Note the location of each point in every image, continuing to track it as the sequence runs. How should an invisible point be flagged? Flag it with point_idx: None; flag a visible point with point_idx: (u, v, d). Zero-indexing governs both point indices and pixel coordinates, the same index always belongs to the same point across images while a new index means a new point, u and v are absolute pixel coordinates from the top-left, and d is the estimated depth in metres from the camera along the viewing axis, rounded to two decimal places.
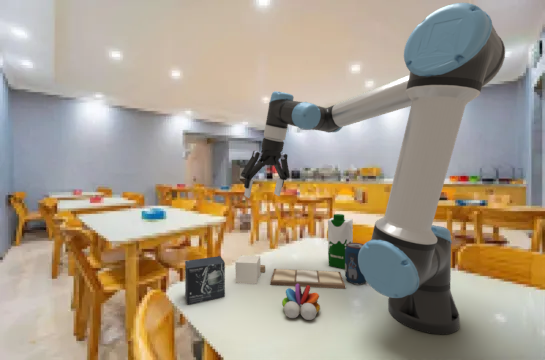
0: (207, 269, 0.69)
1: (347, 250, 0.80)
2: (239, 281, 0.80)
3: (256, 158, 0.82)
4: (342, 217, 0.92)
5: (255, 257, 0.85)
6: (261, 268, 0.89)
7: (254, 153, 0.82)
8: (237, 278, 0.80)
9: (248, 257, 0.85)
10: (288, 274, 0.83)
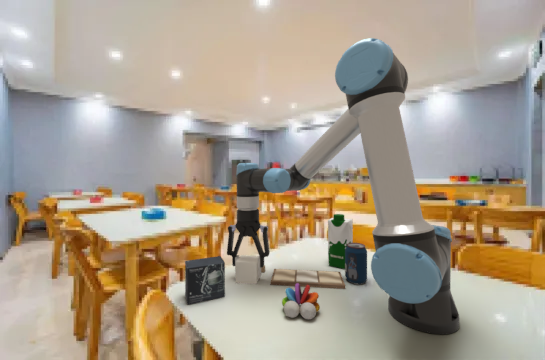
0: (207, 269, 0.69)
1: (347, 250, 0.80)
2: (239, 281, 0.80)
3: (230, 232, 0.82)
4: (342, 217, 0.92)
5: (255, 257, 0.85)
6: (261, 268, 0.89)
7: None
8: (237, 278, 0.80)
9: (248, 257, 0.85)
10: (288, 274, 0.83)
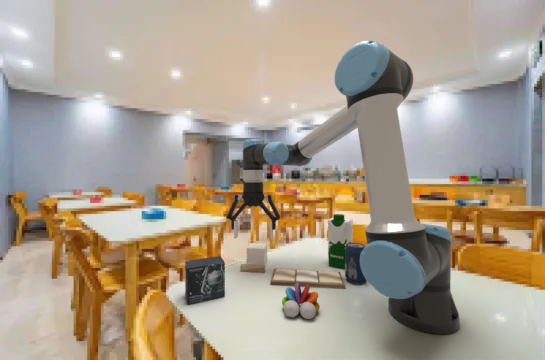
0: (207, 269, 0.69)
1: (347, 250, 0.80)
2: (250, 247, 0.96)
3: (235, 200, 0.91)
4: (342, 217, 0.92)
5: None
6: (261, 268, 0.89)
7: None
8: (249, 247, 0.97)
9: None
10: (288, 274, 0.83)
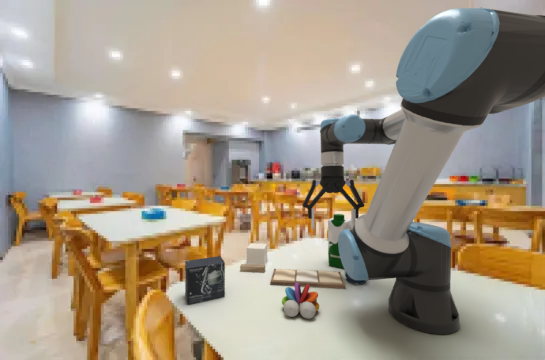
0: (207, 269, 0.69)
1: None
2: (250, 247, 0.96)
3: (313, 186, 0.82)
4: (342, 217, 0.92)
5: None
6: (261, 268, 0.89)
7: (312, 182, 0.83)
8: (249, 247, 0.97)
9: None
10: (288, 274, 0.83)
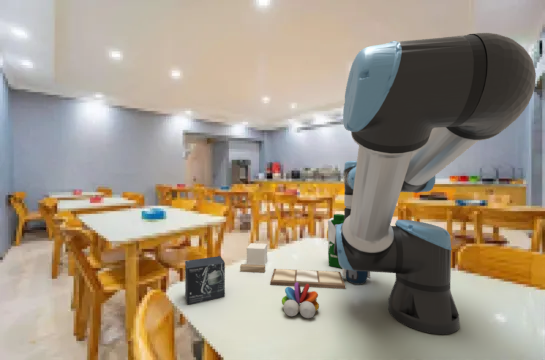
0: (207, 269, 0.69)
1: None
2: (250, 247, 0.96)
3: None
4: (342, 217, 0.92)
5: None
6: (261, 268, 0.89)
7: (335, 227, 0.82)
8: (249, 247, 0.97)
9: None
10: (288, 274, 0.83)
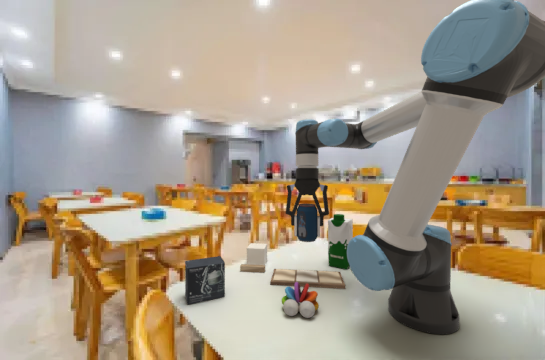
0: (207, 269, 0.69)
1: (298, 209, 0.81)
2: (250, 247, 0.96)
3: (289, 191, 0.82)
4: (342, 217, 0.92)
5: None
6: (261, 268, 0.89)
7: None
8: (249, 247, 0.97)
9: None
10: (288, 274, 0.83)
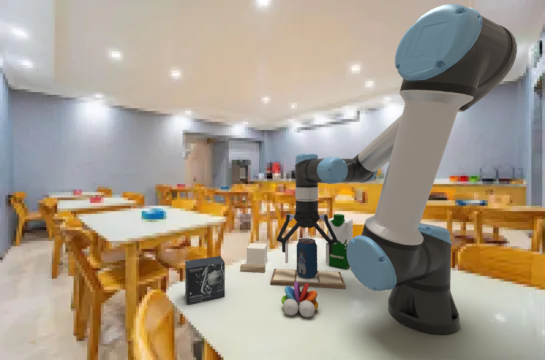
0: (207, 269, 0.69)
1: (297, 245, 0.82)
2: (250, 247, 0.96)
3: (287, 220, 0.82)
4: (342, 217, 0.92)
5: None
6: (261, 268, 0.89)
7: None
8: (249, 247, 0.97)
9: None
10: (288, 274, 0.83)
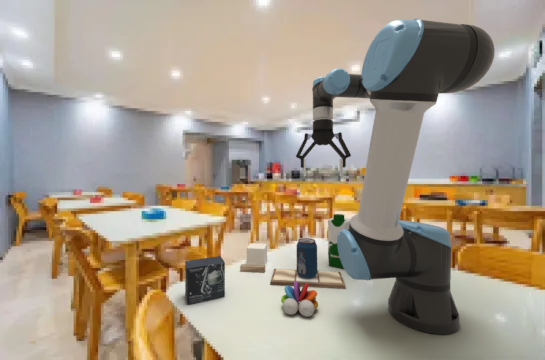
0: (207, 269, 0.69)
1: (297, 245, 0.82)
2: (250, 247, 0.96)
3: (305, 138, 0.92)
4: (342, 217, 0.92)
5: None
6: (261, 268, 0.89)
7: None
8: (249, 247, 0.97)
9: None
10: (288, 274, 0.83)
